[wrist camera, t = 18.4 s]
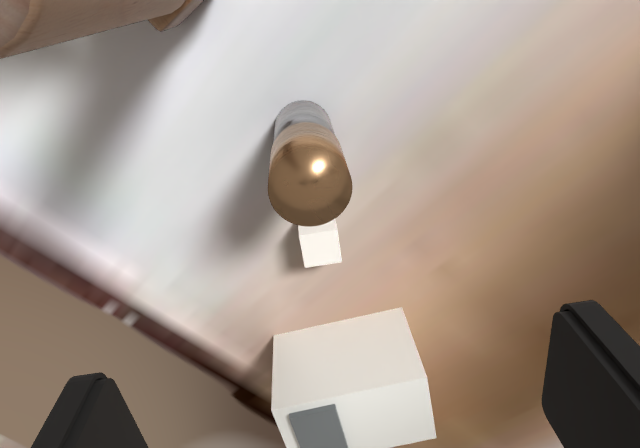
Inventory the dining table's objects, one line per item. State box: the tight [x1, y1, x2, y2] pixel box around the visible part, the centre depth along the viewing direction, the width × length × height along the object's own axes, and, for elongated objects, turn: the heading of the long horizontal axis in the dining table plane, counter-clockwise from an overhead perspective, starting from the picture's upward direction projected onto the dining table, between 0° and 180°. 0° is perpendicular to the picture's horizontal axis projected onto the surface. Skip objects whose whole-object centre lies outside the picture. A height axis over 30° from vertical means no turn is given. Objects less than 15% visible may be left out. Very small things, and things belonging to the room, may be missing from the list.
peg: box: [268, 101, 352, 227], centre depth 23 cm, size 4×4×9 cm
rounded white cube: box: [298, 219, 342, 268], centre depth 29 cm, size 2×2×2 cm
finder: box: [271, 307, 436, 448], centre depth 33 cm, size 10×6×7 cm, turn 103°
